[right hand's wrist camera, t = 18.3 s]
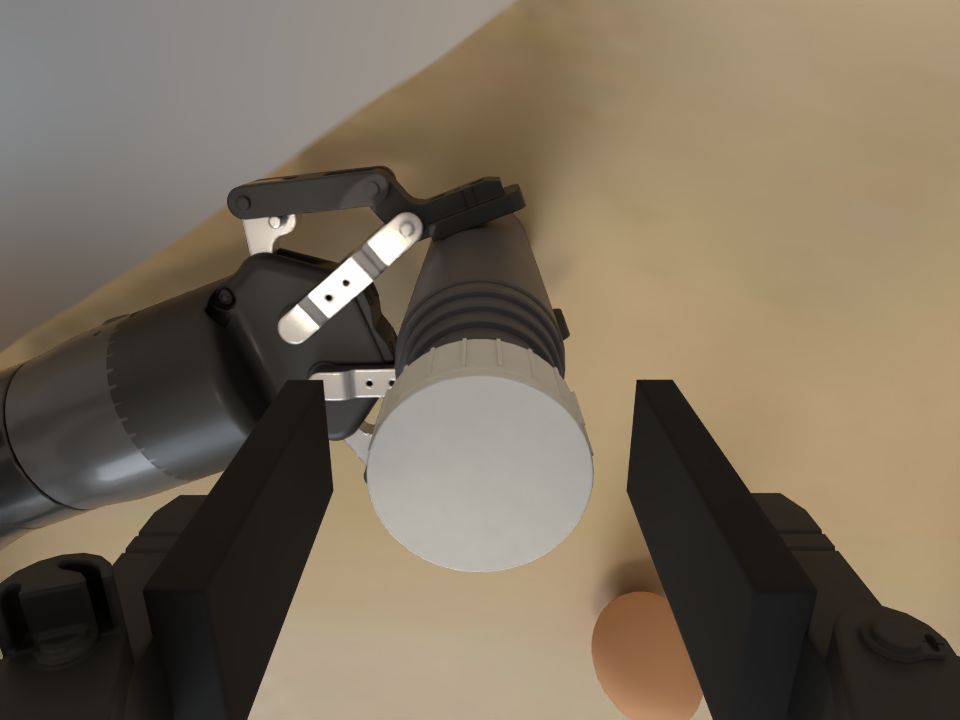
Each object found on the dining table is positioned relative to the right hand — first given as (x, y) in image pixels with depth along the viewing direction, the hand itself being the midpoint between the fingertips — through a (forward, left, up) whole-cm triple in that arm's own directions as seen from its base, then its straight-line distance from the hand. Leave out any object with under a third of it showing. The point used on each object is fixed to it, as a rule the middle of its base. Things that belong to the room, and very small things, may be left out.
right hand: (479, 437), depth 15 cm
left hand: (-3, -1, -13) cm, 13 cm away
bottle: (0, 0, -20) cm, 20 cm away
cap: (0, 0, +1) cm, 1 cm away
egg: (-9, +22, -20) cm, 31 cm away
